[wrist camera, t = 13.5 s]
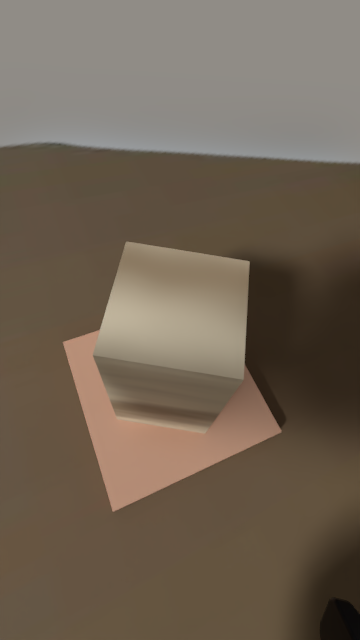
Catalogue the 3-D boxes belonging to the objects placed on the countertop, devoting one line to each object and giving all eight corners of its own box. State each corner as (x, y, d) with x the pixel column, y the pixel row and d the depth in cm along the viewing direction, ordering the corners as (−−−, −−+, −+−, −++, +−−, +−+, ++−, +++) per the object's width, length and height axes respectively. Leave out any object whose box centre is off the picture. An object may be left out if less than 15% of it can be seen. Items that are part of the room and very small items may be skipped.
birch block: (204, 433, 21) (243, 379, 12) (117, 419, 21) (92, 355, 12) (213, 352, 23) (249, 261, 15) (135, 340, 24) (126, 241, 15)
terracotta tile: (275, 435, 22) (281, 431, 21) (115, 511, 19) (113, 511, 18) (204, 303, 27) (206, 294, 26) (66, 349, 24) (62, 342, 23)
